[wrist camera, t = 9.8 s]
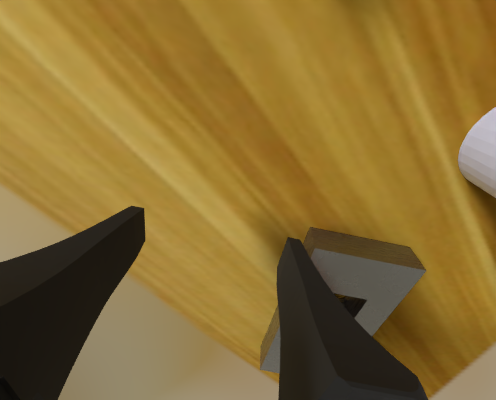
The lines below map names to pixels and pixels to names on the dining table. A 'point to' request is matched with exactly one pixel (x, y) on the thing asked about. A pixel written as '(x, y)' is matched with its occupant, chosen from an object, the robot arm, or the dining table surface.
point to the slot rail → (354, 281)
